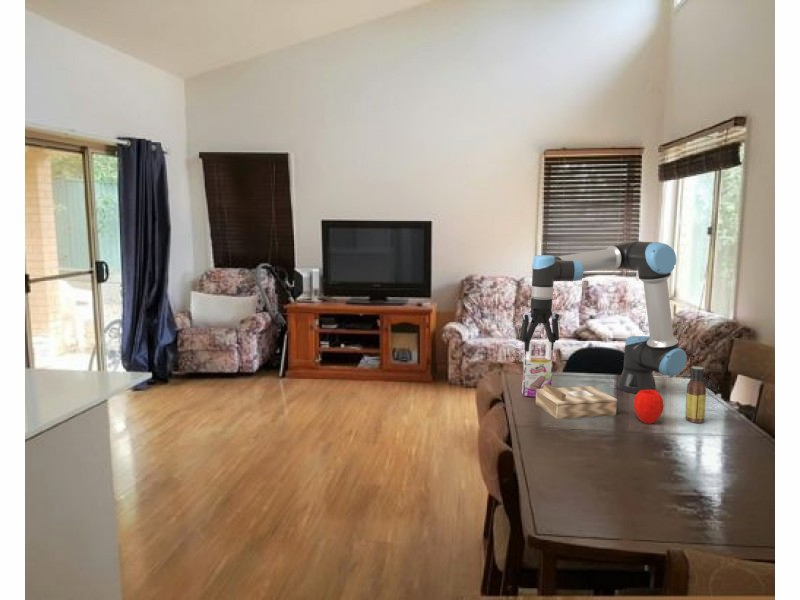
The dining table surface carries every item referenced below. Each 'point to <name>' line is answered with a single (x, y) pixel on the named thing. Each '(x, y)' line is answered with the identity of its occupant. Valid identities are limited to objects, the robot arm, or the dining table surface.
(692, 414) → the sauce bottle
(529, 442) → the dining table surface
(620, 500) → the dining table surface
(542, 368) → the candy bar box
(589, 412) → the wooden box
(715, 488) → the dining table surface
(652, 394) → the apple
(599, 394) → the lid
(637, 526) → the dining table surface
